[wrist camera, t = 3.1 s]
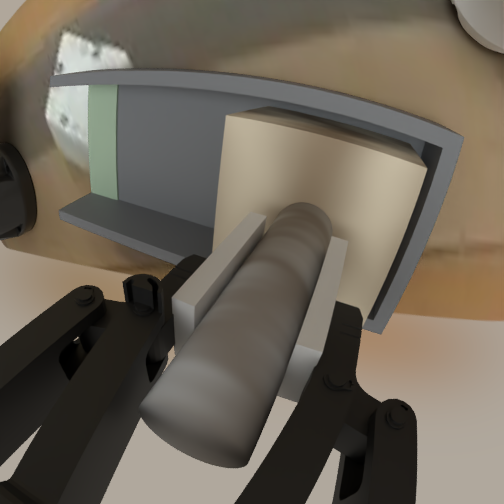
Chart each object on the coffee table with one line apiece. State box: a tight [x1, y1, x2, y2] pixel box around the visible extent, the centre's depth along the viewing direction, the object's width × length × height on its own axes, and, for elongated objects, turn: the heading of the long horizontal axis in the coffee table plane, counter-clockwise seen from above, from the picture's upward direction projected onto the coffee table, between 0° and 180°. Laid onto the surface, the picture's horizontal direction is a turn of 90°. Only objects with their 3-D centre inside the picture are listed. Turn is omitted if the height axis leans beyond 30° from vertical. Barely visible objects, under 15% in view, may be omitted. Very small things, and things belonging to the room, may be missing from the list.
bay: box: [50, 68, 464, 334], centre depth 22 cm, size 30×14×6 cm, turn 81°
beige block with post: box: [139, 106, 427, 468], centre depth 14 cm, size 10×10×19 cm
